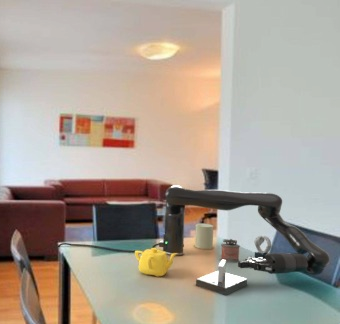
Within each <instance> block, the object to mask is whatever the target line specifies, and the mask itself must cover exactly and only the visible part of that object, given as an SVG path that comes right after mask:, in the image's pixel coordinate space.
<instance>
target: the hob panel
mask: <svg viewBox="0 0 340 324" xmlns="http://www.w3.org/2000/svg"><path fill="white" fill-rule="evenodd" d="M247 285H248V278H246V277H242V276H240V275H235V274H231V273H228V272H226V276H225V278H224V280H223V282H218V270H217V271H214V272H211V273H209V274H208V273H206V275H204V276H200V277H198V278H196V279H195V286H196V287H200V288H201V289H205V290H208V291H211V292H214V293H218V294H221V295H224V296H227V295H229V294H231V293H233V292H235V291H237V290H240V289H242V288H243V287H246V286H247Z"/></svg>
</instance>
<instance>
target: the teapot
mask: <svg viewBox="0 0 340 324" xmlns="http://www.w3.org/2000/svg"><path fill="white" fill-rule="evenodd" d="M134 251H135V252H134V255H135V256H134V257H135V258H136V260H137V261H138V270H139V272H140V273H142V274H143V275H147V276H149V275H150V276H151V275H152V276H155V277H157V278H159V277H160V278H161V277H163V276H165V274H166V273H167V272H168V270H169V269H170V268H171V267H172V265H173V263H174V257H176V256H175V255H176V254H178V253H173V254H171V255H169V256H170V257H169V258H168V254H166V252H165V251H163V250H161V249H160V248H157V247H154V248H152V247H151V248H146V249H145V250H143V252H142V250H134ZM139 254H141V255H139Z"/></svg>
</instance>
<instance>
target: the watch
mask: <svg viewBox="0 0 340 324" xmlns="http://www.w3.org/2000/svg"><path fill="white" fill-rule="evenodd" d="M265 241H266V243H267V244H266V247H265V249H264V250H262V248H261V246H262V244H264V242H265ZM253 242H254V246H255V249H256V250H257V251H255V252H254V258H258V257H262V258H264V256H265V255H266V254H268V253H270V251H271V249H272V241H271V239H270V237H268V236H266V235H258V236H257V237H255V239H254V241H253Z"/></svg>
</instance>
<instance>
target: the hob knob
mask: <svg viewBox="0 0 340 324" xmlns="http://www.w3.org/2000/svg"><path fill="white" fill-rule="evenodd" d="M217 268H218V269H217V271H218V282H223V280H224V278H225V276H226V273H227V261H226V260H222V261H221V260H220V262H219V264H218V267H217Z"/></svg>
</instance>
